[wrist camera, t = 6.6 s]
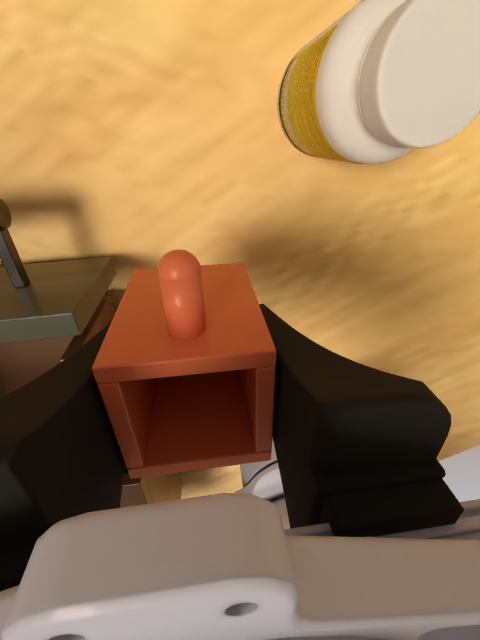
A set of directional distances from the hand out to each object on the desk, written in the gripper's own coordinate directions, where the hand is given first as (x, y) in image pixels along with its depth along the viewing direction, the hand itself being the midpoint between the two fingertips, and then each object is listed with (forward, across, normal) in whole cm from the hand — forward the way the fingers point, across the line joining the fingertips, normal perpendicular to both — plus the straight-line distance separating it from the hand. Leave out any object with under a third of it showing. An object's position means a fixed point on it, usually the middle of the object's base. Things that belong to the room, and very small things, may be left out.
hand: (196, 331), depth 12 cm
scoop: (+1, 0, -1) cm, 2 cm away
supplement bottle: (+11, -8, -8) cm, 15 cm away
